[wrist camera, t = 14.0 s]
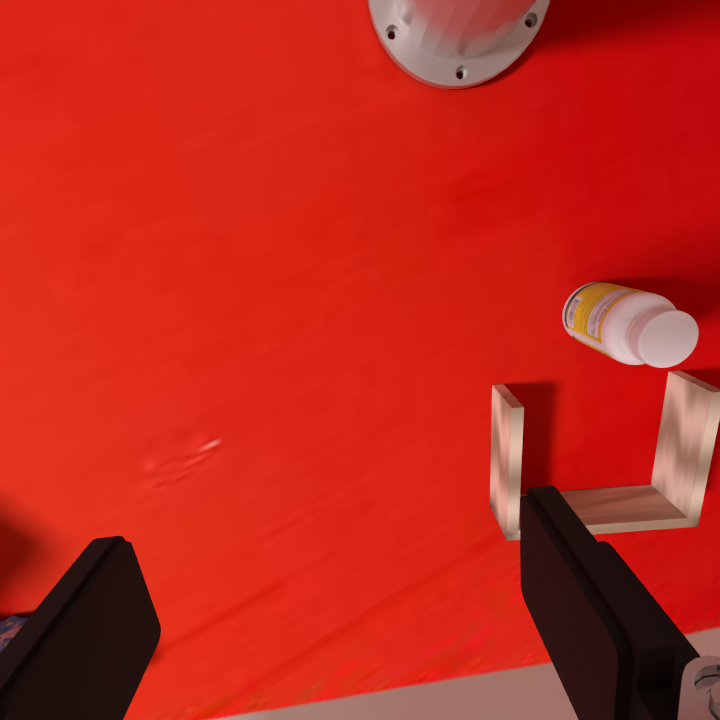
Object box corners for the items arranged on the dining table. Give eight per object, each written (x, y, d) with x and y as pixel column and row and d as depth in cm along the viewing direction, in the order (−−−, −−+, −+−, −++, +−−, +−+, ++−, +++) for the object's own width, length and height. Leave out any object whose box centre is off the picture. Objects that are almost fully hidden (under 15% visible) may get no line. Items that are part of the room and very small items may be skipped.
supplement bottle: (631, 319, 37) (721, 351, 28) (575, 351, 38) (645, 393, 29) (607, 267, 36) (693, 284, 27) (550, 302, 37) (614, 330, 28)
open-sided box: (492, 385, 39) (511, 408, 34) (679, 370, 39) (725, 391, 34) (489, 505, 43) (506, 540, 38) (659, 492, 43) (697, 526, 38)
